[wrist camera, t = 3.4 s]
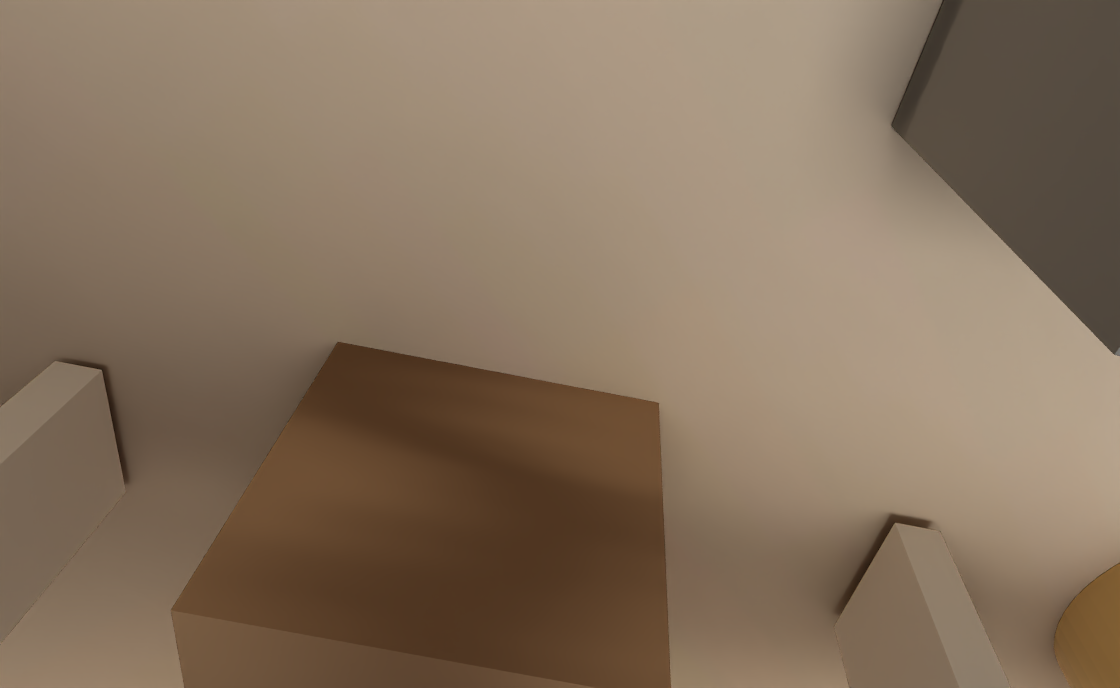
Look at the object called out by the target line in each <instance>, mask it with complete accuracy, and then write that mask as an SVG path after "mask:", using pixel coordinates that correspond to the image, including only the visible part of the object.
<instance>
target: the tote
mask: <svg viewBox="0 0 1120 688" xmlns="http://www.w3.org/2000/svg"><path fill="white" fill-rule="evenodd" d="M892 128H893V129H894V130H895V131H896V132H897V133H898V134H899V135H900V136H901V137H902V138H903V139H904V140H905V141H906V142H907V143H908V144H909V145H910V146H911V147H912V148H913V149H914V150H915V151H916V152H917V153H918V154H919V155H920V156H921V157H922V158H923V159H924V160H925V161H926V162H927V163H928V164H929V165H930V166H931V167H932V169H933V170H934V171H935V172H936V173H937V174H938V175H939V176H940V177H941V178H942V179H943V180H944V181H945V182H946V183H947V184H948V185H949V186H950V187H951V188H952V189H953V190H954V191H955V192H956V193H957V194H958V195H959V196H960V197H961V198H962V199H963V200H964V201H965V202H966V203H967V204H968V205H969V206H970V207H971V208H972V210H973V211H974V212H975V213H976V214H977V215H978V216H979V217H980V218H981V219H982V220H983V221H984V222H985V223H986V224H987V225H988V226H989V227H990V228H991V229H992V230H993V231H994V232H995V233H996V234H997V235H998V236H999V237H1000V238H1001V239H1002V240H1003V241H1004V242H1005V243H1006V244H1007V245H1008V246H1009V247H1010V248H1011V249H1012V251H1013V252H1014V253H1015V254H1016V255H1017V256H1018V257H1019V258H1020V259H1021V260H1022V261H1023V262H1024V263H1025V264H1026V265H1027V266H1028V267H1029V268H1030V269H1031V270H1032V271H1033V272H1034V273H1035V274H1036V275H1037V276H1038V277H1039V278H1040V279H1041V280H1042V281H1043V282H1044V283H1045V284H1046V285H1047V286H1048V287H1049V288H1050V289H1051V290H1052V291H1053V293H1054V294H1055V295H1056V296H1057V297H1058V298H1059V299H1060V300H1061V301H1062V302H1063V303H1064V304H1065V305H1066V306H1067V307H1068V308H1069V309H1070V310H1071V311H1072V312H1073V313H1074V314H1075V315H1076V316H1077V317H1078V318H1079V319H1080V320H1081V321H1082V322H1083V323H1084V324H1085V325H1086V326H1087V327H1088V328H1089V329H1090V330H1091V331H1092V332H1093V334H1094V335H1095V336H1096V337H1097V338H1098V339H1099V340H1100V341H1101V342H1102V343H1103V344H1104V345H1105V346H1106V347H1107V348H1108V349H1109V350H1110V351H1111V352H1112V353H1113V354H1114V355H1117V356H1120V0H944V2H943V4H942V7H941V9H940V11H939V14H938V16H937V19H936V21H935V23H934V26H933V28H932V30H931V33H930V35H929V38H928V40H927V42H926V45H925V47H924V50H923V52H922V54H921V57H920V59H919V62H918V64H917V66H916V69H915V71H914V74H913V76H912V78H911V81H910V83H909V86H908V88H907V90H906V93H905V95H904V98H903V100H902V102H901V105H900V107H899V110H898V112H897V114H896V117H895V119H894V122H893V124H892Z"/></svg>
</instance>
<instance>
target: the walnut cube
mask: <svg viewBox="0 0 1120 688" xmlns="http://www.w3.org/2000/svg"><path fill="white" fill-rule="evenodd" d="M171 614H172V620H173V625H174V631H175V637H176V642H177V648H178V654H179V659H180V665H181V671H182V676H183V682H184V688H671V678H670V655H669V632H668V608H667V585H666V562H665V539H664V515H663V492H662V469H661V445H660V422H659V403H657V402H652V401H646V400H641V399H636V398H631V397H625V396H620V395H615V394H610V393H604V392H599V391H594V390H588V389H583V388H578V387H573V386H567V385H562V384H557V383H552V382H546V381H541V380H536V379H531V378H525V377H520V376H515V375H510V374H504V373H499V372H494V371H488V370H483V369H478V368H473V367H467V366H462V365H457V364H452V363H446V362H441V361H436V360H431V359H425V358H420V357H415V356H410V355H404V354H399V353H394V352H389V351H383V350H378V349H373V348H367V347H362V346H357V345H352V344H346V343H341V342H338V343H337V344H336V346H335V348H334V349H333V351H332V352H331V354H330V356H329V357H328V359H327V360H326V362H325V364H324V365H323V367H322V368H321V370H320V372H319V373H318V375H317V376H316V378H315V380H314V381H313V383H312V385H311V386H310V388H309V389H308V391H307V393H306V394H305V396H304V397H303V399H302V401H301V402H300V404H299V405H298V407H297V409H296V410H295V412H294V413H293V415H292V417H291V418H290V420H289V421H288V423H287V425H286V426H285V428H284V429H283V431H282V433H281V434H280V436H279V438H278V439H277V441H276V442H275V444H274V446H273V447H272V449H271V450H270V452H269V454H268V455H267V457H266V458H265V460H264V462H263V463H262V465H261V466H260V468H259V470H258V471H257V473H256V474H255V476H254V478H253V479H252V481H251V483H250V484H249V486H248V487H247V489H246V491H245V492H244V494H243V495H242V497H241V499H240V500H239V502H238V503H237V505H236V507H235V508H234V510H233V511H232V513H231V515H230V516H229V518H228V519H227V521H226V523H225V524H224V526H223V527H222V529H221V531H220V532H219V534H218V536H217V537H216V539H215V540H214V542H213V544H212V545H211V547H210V548H209V550H208V552H207V553H206V555H205V556H204V558H203V560H202V561H201V563H200V564H199V566H198V568H197V569H196V571H195V572H194V574H193V576H192V577H191V579H190V580H189V582H188V584H187V585H186V587H185V589H184V590H183V592H182V593H181V595H180V597H179V598H178V600H177V601H176V603H175V605H174V606H173V608H172V609H171Z"/></svg>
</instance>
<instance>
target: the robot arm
mask: <svg viewBox="0 0 1120 688" xmlns="http://www.w3.org/2000/svg"><path fill="white" fill-rule="evenodd" d="M125 493H126V490H125V485H124V480H123V475H122V470H121V465H120V460H119V454H118V449H117V444H116V439H115V434H114V429H113V424H112V419H111V414H110V409H109V404H108V398H107V393H106V388H105V383H104V378H103V373H102V370H100V369H94V368H89V367H84V366H79V365H74V364H68V363H63V362H58V361H54V362H53V363H52V364H51V365H50V366H48V367H47V368H46V369H45V370H44V371H42V372H41V373H40V374H39V375H38V376H37V377H35V378H34V379H33V380H32V381H31V382H29V383H28V384H27V385H26V386H25V387H23V388H22V389H21V390H20V391H19V392H17V393H16V394H15V395H14V396H13V397H12V398H10V399H9V400H8V401H7V402H6V403H4V404H3V405H2V406H1V407H0V644H1V643H2V642H3V641H4V639H5V638H6V637H7V636H8V634H9V633H10V632H11V631H12V630H13V628H14V627H15V626H16V625H17V624H18V622H19V621H20V620H21V619H22V617H23V616H24V615H25V614H26V613H27V611H28V610H29V609H30V608H31V607H32V605H33V604H34V603H35V602H36V601H37V599H38V598H39V597H40V596H41V594H42V593H43V592H44V591H45V590H46V588H47V587H48V586H49V585H50V584H51V582H52V581H53V580H54V579H55V577H56V576H57V575H58V574H59V573H60V571H61V570H62V569H63V568H64V567H65V565H66V564H67V563H68V562H69V561H70V559H71V558H72V557H73V556H74V554H75V553H76V552H77V551H78V550H79V548H80V547H81V546H82V545H83V544H84V542H85V541H86V540H87V539H88V537H89V536H90V535H91V534H92V533H93V531H94V530H95V529H96V528H97V527H98V525H99V524H100V523H101V522H102V521H103V519H104V518H105V517H106V516H107V514H108V513H109V512H110V511H111V510H112V508H113V507H114V506H115V505H116V504H117V502H118V501H119V500H120V499H121V497H122V496H123V495H124V494H125ZM834 629H835V633H836V637H837V641H838V645H839V649H840V653H841V656H842V660H843V664H844V668H845V672H846V676H847V680H848V684H849V688H1011V686H1010V684H1009V682H1008V680H1007V678H1006V675H1005V673H1004V671H1003V669H1002V667H1001V664H1000V662H999V660H998V658H997V656H996V653H995V651H994V649H993V647H992V645H991V642H990V640H989V638H988V636H987V634H986V631H985V629H984V627H983V625H982V623H981V620H980V618H979V616H978V614H977V611H976V609H975V607H974V605H973V603H972V600H971V598H970V596H969V594H968V592H967V589H966V587H965V585H964V583H963V581H962V578H961V576H960V574H959V572H958V570H957V567H956V565H955V563H954V561H953V559H952V556H951V554H950V552H949V550H948V548H947V545H946V543H945V541H944V539H943V536H942V534H941V532H940V531H936V530H931V529H926V528H921V527H916V526H910V525H905V524H900V523H894V525H893V527H892V528H891V530H890V532H889V534H888V535H887V537H886V539H885V540H884V542H883V544H882V545H881V547H880V549H879V551H878V552H877V554H876V556H875V557H874V559H873V561H872V562H871V564H870V566H869V568H868V569H867V571H866V573H865V574H864V576H863V578H862V579H861V581H860V583H859V585H858V586H857V588H856V590H855V591H854V593H853V595H852V596H851V598H850V600H849V602H848V603H847V605H846V607H845V608H844V610H843V612H842V613H841V615H840V617H839V619H838V620H837V622H836V624H835V625H834Z"/></svg>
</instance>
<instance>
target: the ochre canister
mask: <svg viewBox="0 0 1120 688" xmlns="http://www.w3.org/2000/svg"><path fill="white" fill-rule="evenodd" d="M1054 650H1055V656H1056V659H1057V662H1058V664H1059V666H1060V668H1061V670H1062V672H1063V674H1064V676H1065V678H1066V680H1067V682H1068V683H1069V685H1070V687H1071V688H1120V563H1119V564H1117V565H1115V566H1114V567H1112V568H1111V569H1109V570H1108V571H1106V572H1105V573H1103V574H1102V575H1100V576H1099V577H1098V578H1096V579H1095V580H1094V581H1093V582H1091V583H1090V584H1089V585H1088V586H1087V587H1085V588H1084V589H1083V590H1082V591H1081V592H1080V593H1079V594H1078V596H1077V597H1076V598H1075V599H1074V600H1073V601H1072V602H1071V604H1070V605H1069V606H1068V608H1067V609H1066V610H1065V612H1064V614H1063V616H1062V617H1061V619H1060V621H1059V623H1058V626H1057V630H1056V633H1055V639H1054Z"/></svg>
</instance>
